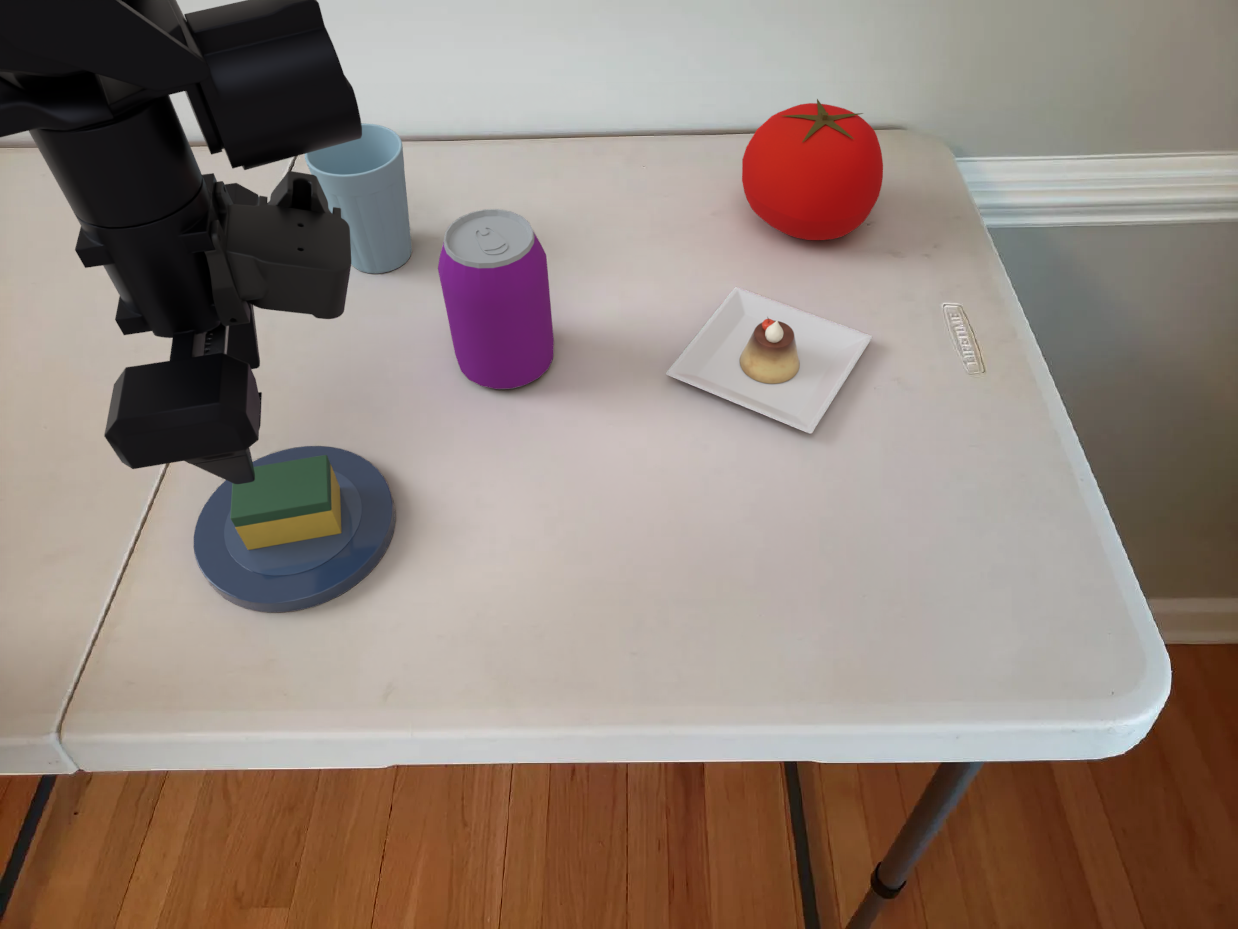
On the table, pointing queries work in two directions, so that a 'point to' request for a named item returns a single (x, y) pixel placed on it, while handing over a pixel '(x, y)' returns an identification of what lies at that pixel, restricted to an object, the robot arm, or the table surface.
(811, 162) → the tomato
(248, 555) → the plate
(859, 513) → the table surface
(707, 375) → the dessert
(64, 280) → the table surface
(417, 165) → the table surface
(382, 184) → the cup
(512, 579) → the table surface
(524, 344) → the beverage can
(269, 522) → the sponge
